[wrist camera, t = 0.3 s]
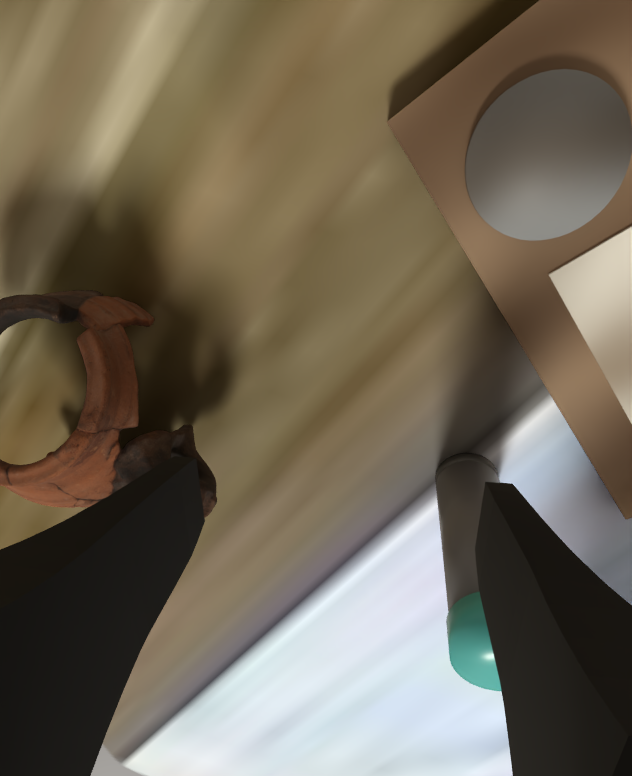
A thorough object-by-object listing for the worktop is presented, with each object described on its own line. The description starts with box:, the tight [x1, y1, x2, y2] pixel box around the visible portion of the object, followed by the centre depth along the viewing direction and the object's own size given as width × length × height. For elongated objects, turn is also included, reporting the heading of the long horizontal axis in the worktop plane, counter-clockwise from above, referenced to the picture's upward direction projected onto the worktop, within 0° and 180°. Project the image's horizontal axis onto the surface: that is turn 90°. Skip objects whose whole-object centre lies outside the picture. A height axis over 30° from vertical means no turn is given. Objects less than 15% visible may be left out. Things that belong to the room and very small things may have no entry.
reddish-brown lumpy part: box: [0, 290, 217, 518], centre depth 22 cm, size 12×10×8 cm
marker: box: [435, 453, 501, 691], centre depth 19 cm, size 3×3×9 cm
